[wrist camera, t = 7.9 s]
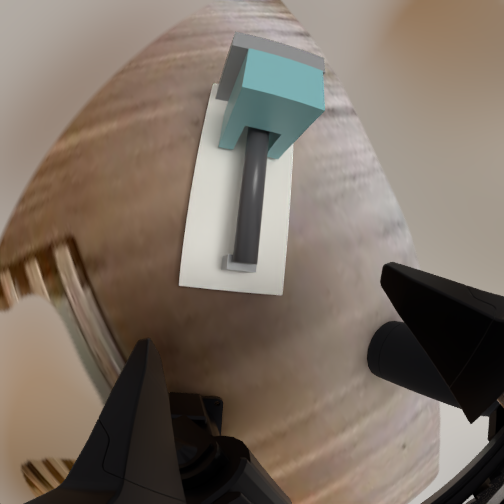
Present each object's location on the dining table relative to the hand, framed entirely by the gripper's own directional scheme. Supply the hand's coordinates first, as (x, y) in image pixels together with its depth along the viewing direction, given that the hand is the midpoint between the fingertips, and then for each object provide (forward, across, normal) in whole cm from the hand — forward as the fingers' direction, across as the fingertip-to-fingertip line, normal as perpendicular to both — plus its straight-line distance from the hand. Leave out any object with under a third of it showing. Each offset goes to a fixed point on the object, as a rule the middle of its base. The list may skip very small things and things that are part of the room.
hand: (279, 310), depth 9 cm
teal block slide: (+16, -3, 0) cm, 16 cm away
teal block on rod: (+16, -4, -4) cm, 17 cm away
